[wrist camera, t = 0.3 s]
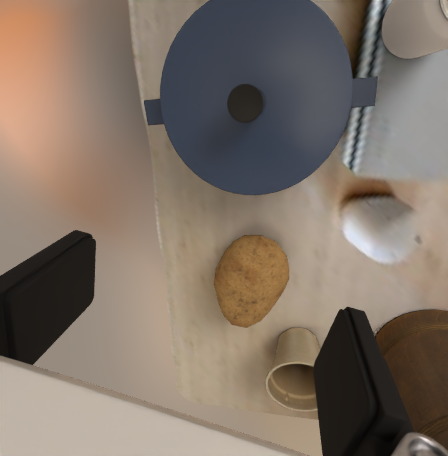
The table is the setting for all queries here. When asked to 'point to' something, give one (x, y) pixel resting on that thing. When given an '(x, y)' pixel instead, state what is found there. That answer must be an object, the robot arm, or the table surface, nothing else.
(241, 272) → the potato
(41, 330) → the robot arm
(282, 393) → the flower pot
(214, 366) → the table surface
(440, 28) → the can
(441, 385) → the wooden container
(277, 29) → the lid
